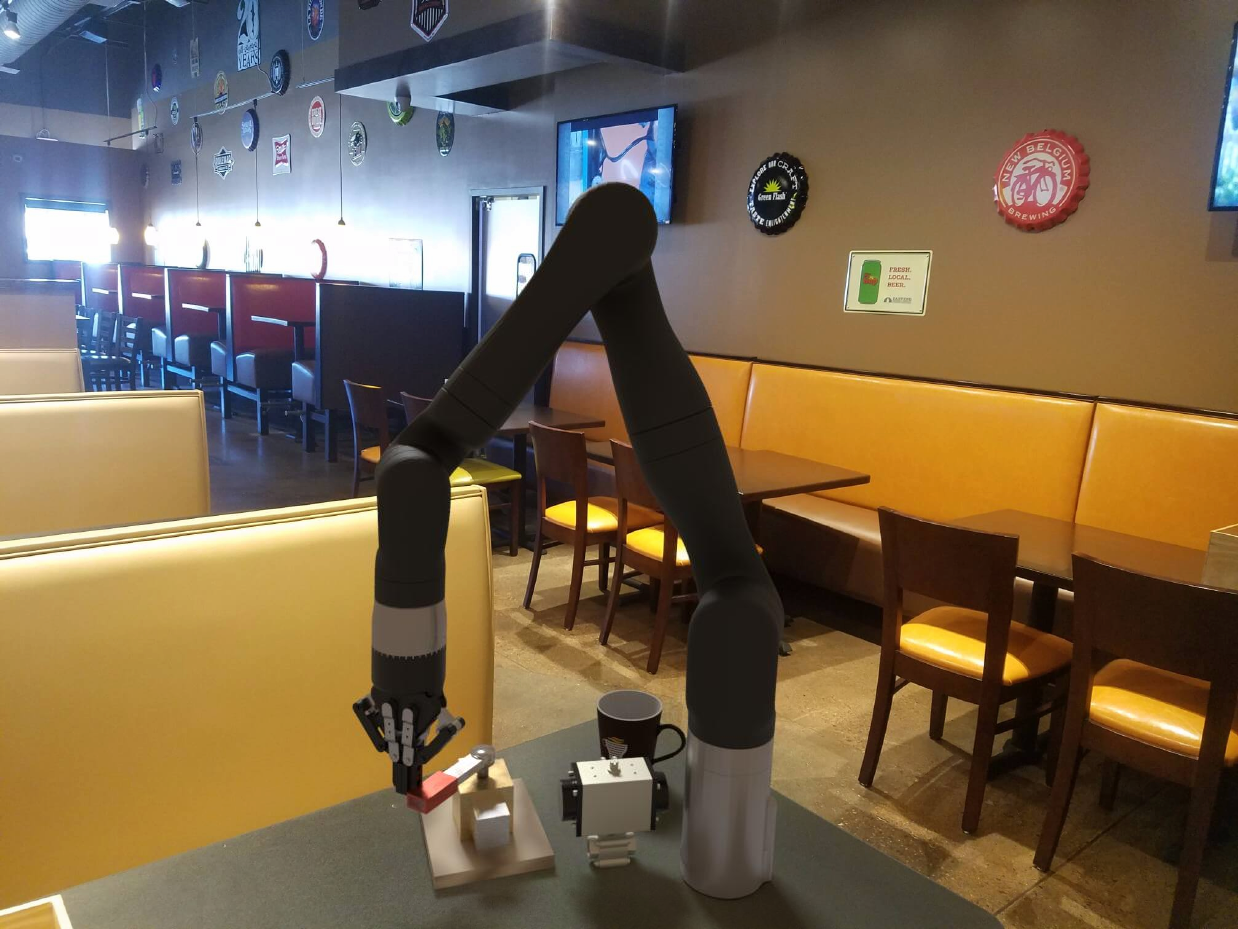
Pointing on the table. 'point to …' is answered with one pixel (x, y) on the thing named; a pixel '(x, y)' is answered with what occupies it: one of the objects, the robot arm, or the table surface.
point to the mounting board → (461, 859)
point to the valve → (485, 809)
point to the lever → (449, 780)
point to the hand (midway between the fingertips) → (406, 790)
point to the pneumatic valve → (612, 805)
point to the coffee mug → (632, 725)
